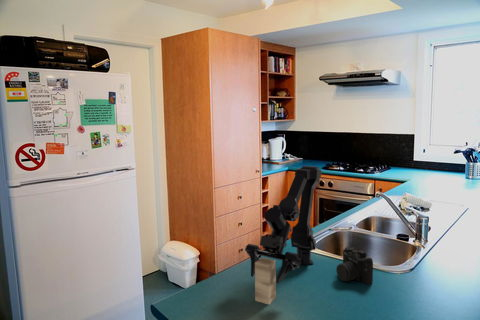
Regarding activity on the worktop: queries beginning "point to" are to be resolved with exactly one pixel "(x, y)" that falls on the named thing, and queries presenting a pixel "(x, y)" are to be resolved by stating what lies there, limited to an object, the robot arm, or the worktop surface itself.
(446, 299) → the worktop surface
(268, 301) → the maple block
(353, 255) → the camera
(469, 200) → the worktop surface
